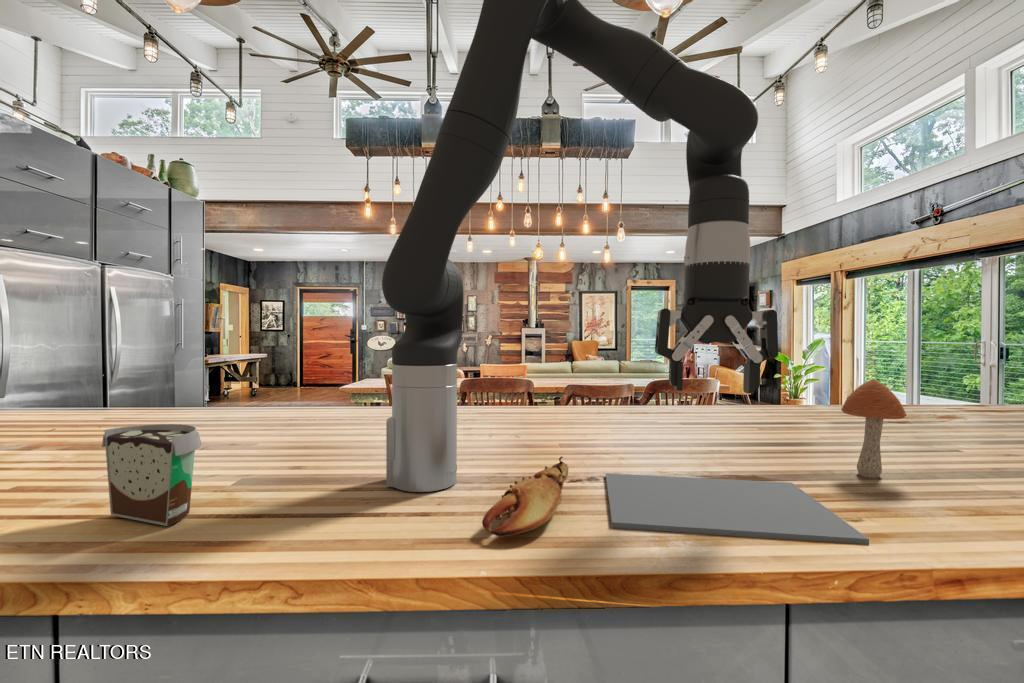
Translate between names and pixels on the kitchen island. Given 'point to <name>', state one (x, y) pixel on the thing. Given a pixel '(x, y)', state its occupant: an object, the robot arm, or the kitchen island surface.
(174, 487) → the food container
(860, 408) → the mushroom
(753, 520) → the mat
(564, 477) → the crab claw
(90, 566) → the kitchen island surface
